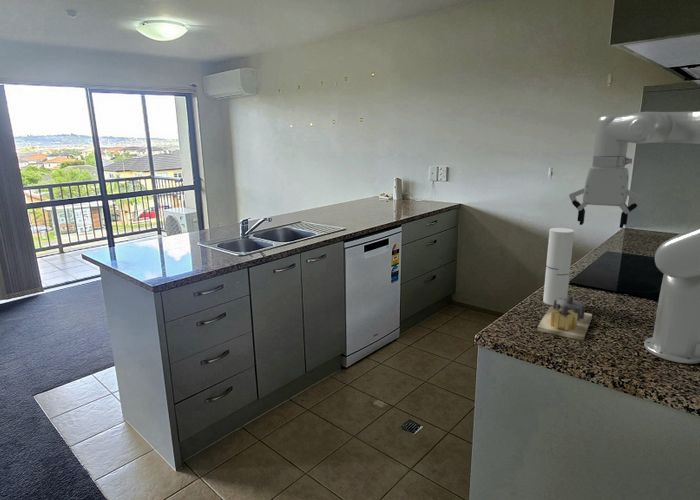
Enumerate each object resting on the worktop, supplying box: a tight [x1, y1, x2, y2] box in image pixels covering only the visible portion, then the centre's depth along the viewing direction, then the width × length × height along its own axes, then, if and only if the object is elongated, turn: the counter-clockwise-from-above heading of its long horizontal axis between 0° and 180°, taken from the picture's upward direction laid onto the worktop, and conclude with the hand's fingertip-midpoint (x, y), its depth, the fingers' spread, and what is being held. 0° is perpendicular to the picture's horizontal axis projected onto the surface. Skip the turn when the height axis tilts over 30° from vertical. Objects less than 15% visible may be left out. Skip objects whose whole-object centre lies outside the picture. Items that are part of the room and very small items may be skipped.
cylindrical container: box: [542, 227, 575, 307], centre depth 141 cm, size 7×7×25 cm
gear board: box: [536, 295, 593, 342], centre depth 127 cm, size 12×18×7 cm, turn 145°
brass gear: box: [550, 308, 578, 331], centre depth 123 cm, size 7×7×4 cm
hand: (601, 225), depth 118 cm, fingers open, 9 cm apart
